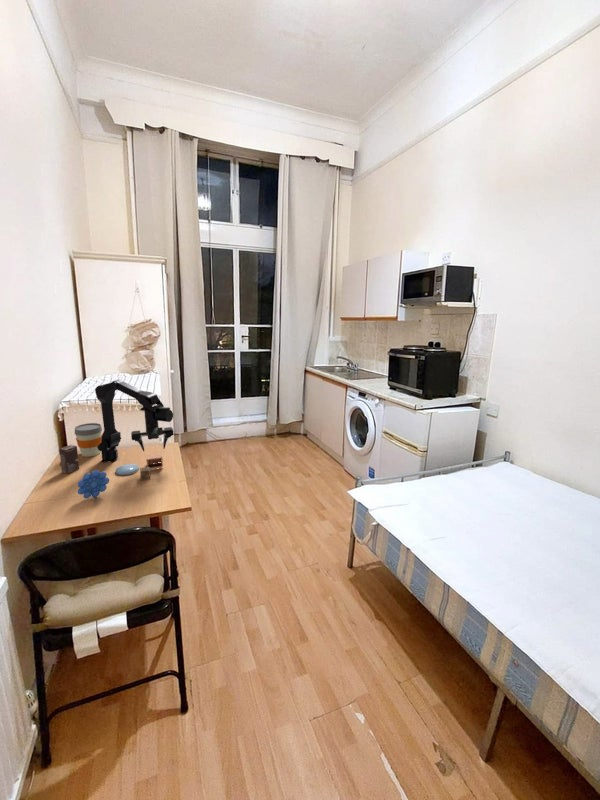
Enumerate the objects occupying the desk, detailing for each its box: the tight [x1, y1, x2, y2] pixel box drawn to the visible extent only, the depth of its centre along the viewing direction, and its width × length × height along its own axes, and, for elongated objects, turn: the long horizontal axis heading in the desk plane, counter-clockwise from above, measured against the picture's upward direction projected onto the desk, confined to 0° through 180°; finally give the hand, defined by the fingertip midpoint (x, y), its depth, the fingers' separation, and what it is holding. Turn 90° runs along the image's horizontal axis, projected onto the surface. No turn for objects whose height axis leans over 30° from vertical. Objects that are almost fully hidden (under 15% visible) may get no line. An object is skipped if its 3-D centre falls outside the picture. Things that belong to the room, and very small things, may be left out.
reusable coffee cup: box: [74, 422, 103, 457], centre depth 188 cm, size 12×12×15 cm
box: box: [58, 444, 80, 474], centre depth 168 cm, size 6×4×12 cm
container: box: [145, 451, 164, 471], centre depth 175 cm, size 7×7×6 cm
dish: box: [115, 463, 140, 476], centre depth 171 cm, size 10×10×1 cm
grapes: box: [77, 469, 110, 499], centre depth 146 cm, size 12×7×12 cm, turn 120°
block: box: [139, 466, 151, 482], centre depth 164 cm, size 4×4×4 cm
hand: (154, 449), depth 174 cm, fingers open, 9 cm apart
